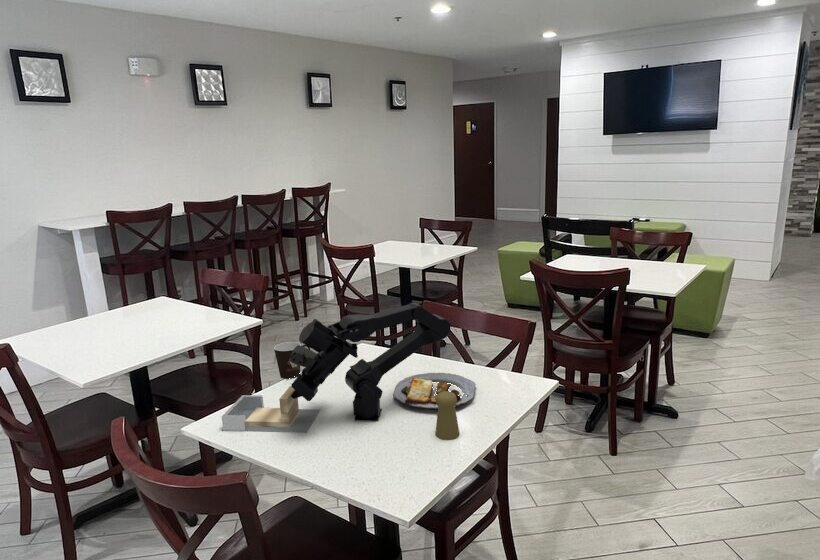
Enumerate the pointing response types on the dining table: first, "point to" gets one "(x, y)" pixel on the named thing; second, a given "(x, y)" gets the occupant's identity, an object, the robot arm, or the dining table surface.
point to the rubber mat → (299, 424)
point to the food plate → (431, 389)
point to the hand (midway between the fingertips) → (292, 397)
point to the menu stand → (276, 413)
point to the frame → (240, 412)
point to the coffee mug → (287, 360)
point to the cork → (446, 416)
